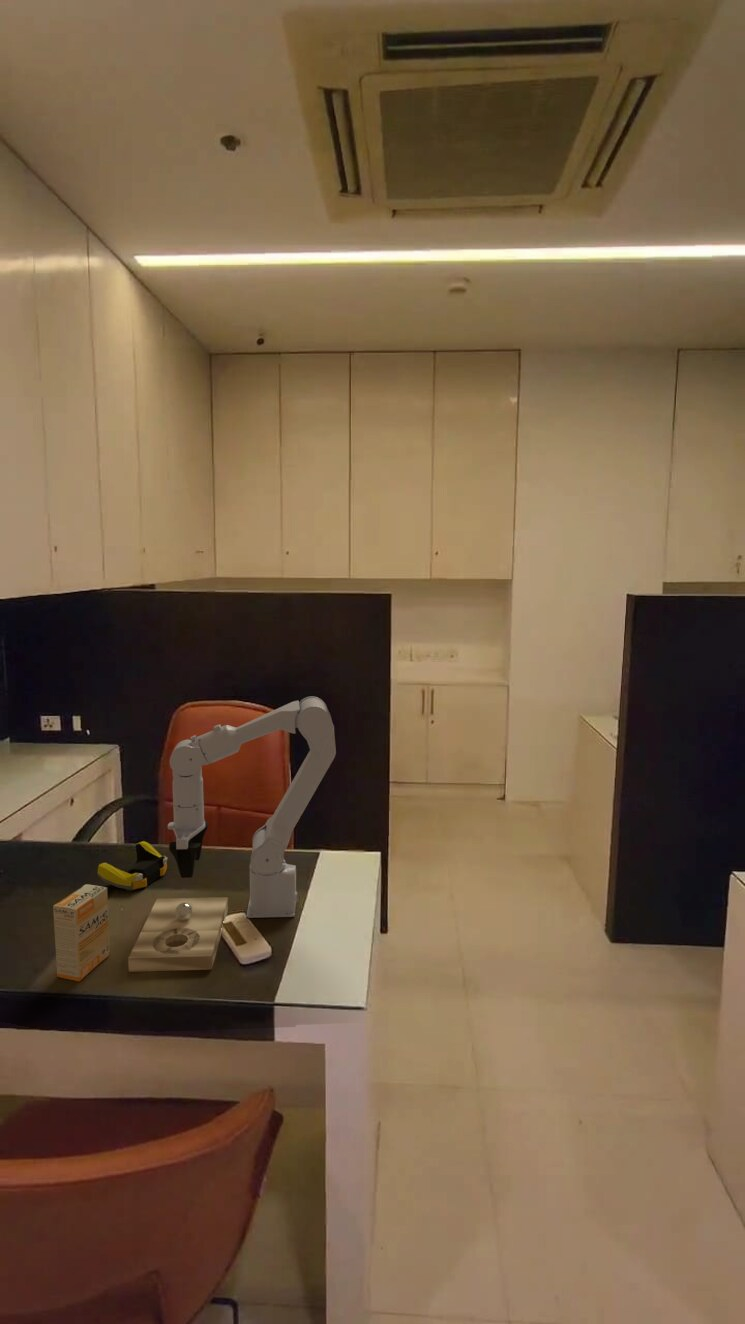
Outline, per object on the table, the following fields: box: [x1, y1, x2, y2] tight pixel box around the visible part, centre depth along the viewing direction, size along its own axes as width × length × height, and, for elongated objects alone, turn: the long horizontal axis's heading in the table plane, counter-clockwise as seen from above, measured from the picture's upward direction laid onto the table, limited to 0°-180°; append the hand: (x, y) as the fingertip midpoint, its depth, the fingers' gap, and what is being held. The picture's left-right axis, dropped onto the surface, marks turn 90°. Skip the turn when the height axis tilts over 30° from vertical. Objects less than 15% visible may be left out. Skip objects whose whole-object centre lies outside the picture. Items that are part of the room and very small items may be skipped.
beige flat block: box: [127, 896, 229, 973], centre depth 126 cm, size 20×14×2 cm
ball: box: [175, 903, 193, 921], centre depth 127 cm, size 3×3×3 cm
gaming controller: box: [97, 840, 169, 892], centre depth 148 cm, size 15×6×10 cm
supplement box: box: [52, 883, 111, 982], centre depth 116 cm, size 8×5×13 cm, turn 164°
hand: (190, 868), depth 133 cm, fingers open, 7 cm apart
